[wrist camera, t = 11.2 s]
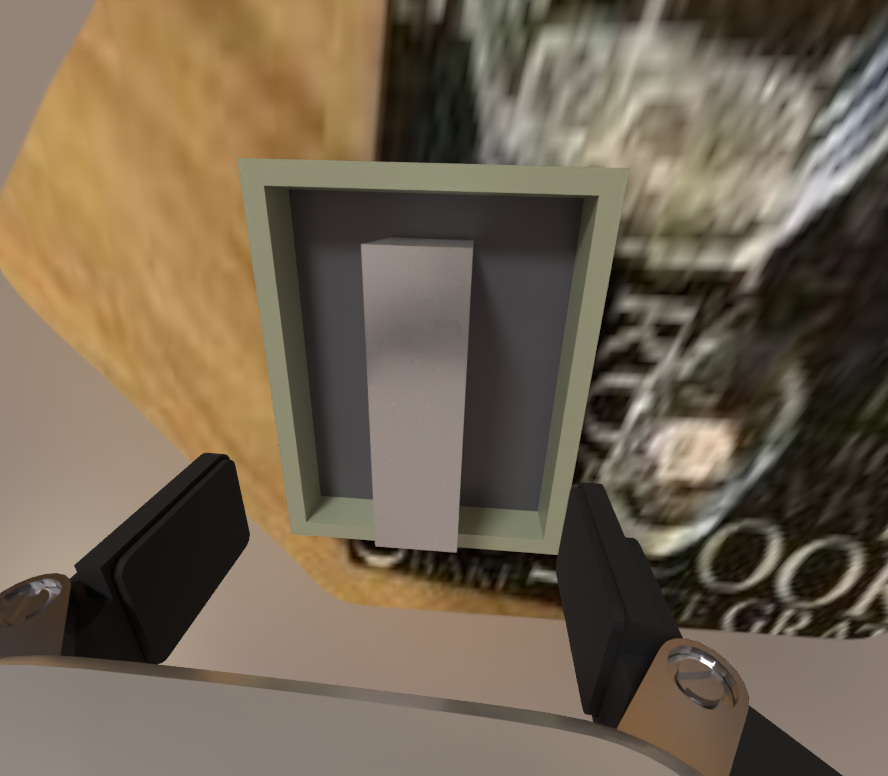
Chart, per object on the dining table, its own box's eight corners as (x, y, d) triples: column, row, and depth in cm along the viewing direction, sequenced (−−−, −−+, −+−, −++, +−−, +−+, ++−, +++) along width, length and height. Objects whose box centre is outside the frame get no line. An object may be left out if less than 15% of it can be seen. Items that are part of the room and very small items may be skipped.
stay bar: (473, 239, 20) (472, 248, 14) (461, 479, 25) (456, 552, 20) (392, 236, 20) (361, 244, 15) (397, 475, 26) (375, 546, 20)
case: (604, 176, 19) (629, 168, 16) (549, 514, 27) (558, 554, 24) (275, 167, 20) (236, 158, 17) (312, 497, 28) (291, 534, 25)
